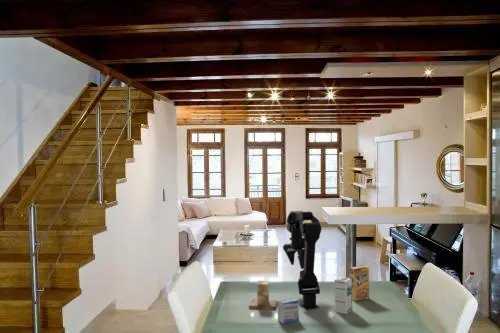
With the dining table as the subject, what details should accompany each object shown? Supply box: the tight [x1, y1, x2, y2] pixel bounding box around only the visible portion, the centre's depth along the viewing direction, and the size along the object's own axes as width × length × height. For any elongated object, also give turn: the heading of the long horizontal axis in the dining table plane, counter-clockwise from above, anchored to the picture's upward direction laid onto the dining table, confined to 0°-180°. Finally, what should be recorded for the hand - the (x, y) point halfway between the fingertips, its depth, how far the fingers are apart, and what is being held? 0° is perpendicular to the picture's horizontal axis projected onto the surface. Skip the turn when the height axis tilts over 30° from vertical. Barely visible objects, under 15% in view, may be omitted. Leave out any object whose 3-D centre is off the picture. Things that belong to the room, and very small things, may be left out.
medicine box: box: [277, 297, 300, 325], centre depth 184 cm, size 8×4×9 cm, turn 118°
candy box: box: [348, 264, 370, 302], centre depth 210 cm, size 9×4×15 cm, turn 113°
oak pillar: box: [256, 280, 270, 305], centre depth 202 cm, size 5×5×10 cm
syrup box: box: [333, 276, 353, 315], centre depth 193 cm, size 6×6×14 cm
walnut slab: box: [248, 298, 278, 311], centre depth 202 cm, size 12×9×2 cm
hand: (297, 266), depth 220 cm, fingers open, 9 cm apart
